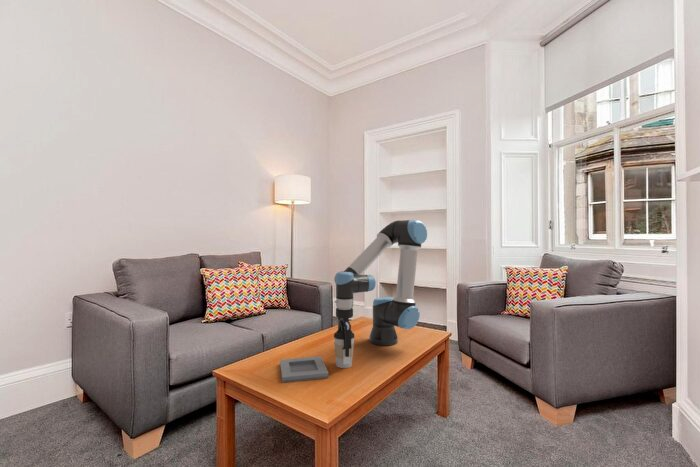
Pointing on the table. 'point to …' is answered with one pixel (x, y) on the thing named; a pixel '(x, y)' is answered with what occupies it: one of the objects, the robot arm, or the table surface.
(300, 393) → the table surface
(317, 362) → the frame
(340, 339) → the coffee cup
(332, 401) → the table surface
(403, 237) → the robot arm
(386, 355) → the table surface
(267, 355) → the table surface
